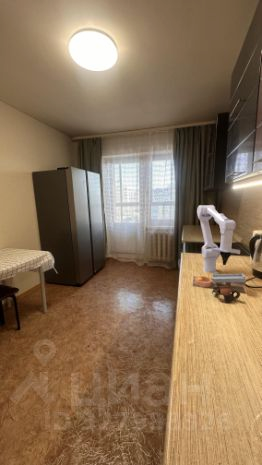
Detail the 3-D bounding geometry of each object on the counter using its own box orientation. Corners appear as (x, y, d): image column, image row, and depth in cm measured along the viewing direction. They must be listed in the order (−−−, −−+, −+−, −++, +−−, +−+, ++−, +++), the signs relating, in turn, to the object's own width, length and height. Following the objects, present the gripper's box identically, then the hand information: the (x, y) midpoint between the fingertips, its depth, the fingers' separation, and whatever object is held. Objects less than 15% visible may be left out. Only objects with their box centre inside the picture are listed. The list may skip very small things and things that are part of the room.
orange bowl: (195, 279, 116) (195, 275, 116) (211, 281, 113) (211, 277, 113) (194, 285, 108) (195, 281, 108) (211, 288, 105) (212, 283, 105)
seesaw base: (193, 277, 121) (194, 270, 120) (241, 283, 112) (241, 276, 112) (192, 287, 108) (192, 280, 107) (245, 295, 100) (246, 287, 99)
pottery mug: (214, 305, 92) (210, 287, 95) (214, 304, 100) (211, 287, 103) (243, 303, 88) (238, 284, 90) (241, 303, 96) (237, 285, 99)
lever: (212, 276, 118) (212, 269, 117) (241, 275, 113) (240, 268, 112) (213, 285, 106) (213, 278, 105) (246, 285, 101) (245, 277, 100)
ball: (199, 282, 113) (195, 278, 113) (203, 279, 112) (200, 275, 112) (198, 284, 110) (195, 280, 110) (203, 282, 109) (200, 277, 109)
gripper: (212, 242, 111) (210, 265, 113) (242, 244, 106) (239, 268, 109) (212, 239, 117) (210, 261, 120) (239, 241, 113) (237, 264, 115)
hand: (224, 264), depth 115 cm, fingers closed
